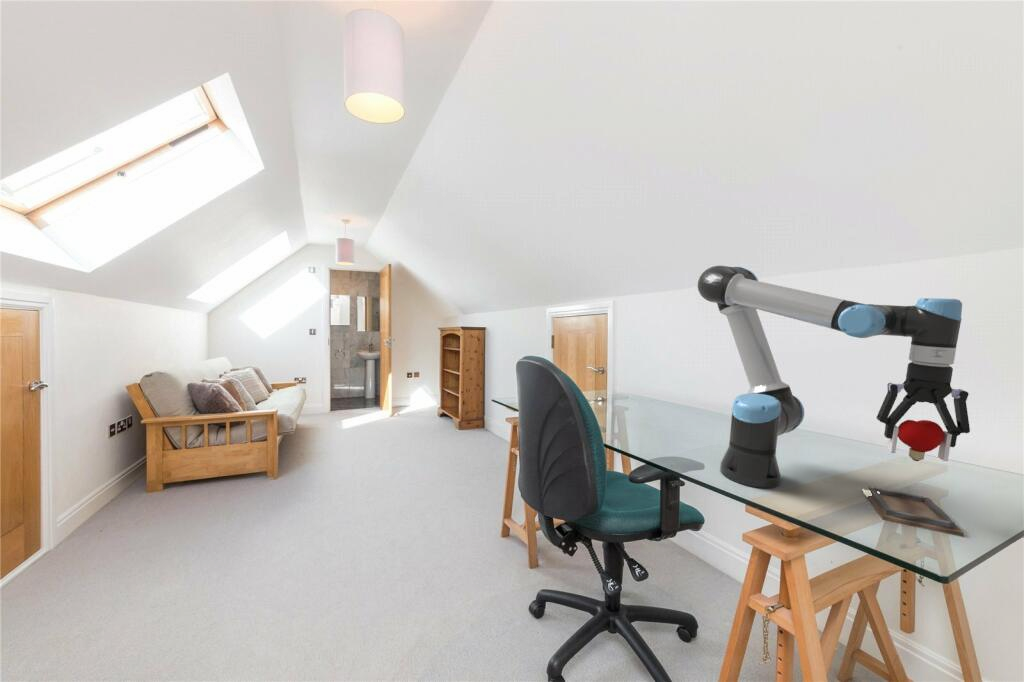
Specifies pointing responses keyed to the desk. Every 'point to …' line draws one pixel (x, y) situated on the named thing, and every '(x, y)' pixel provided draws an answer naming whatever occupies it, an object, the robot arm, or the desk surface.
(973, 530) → the desk surface
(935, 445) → the red heart on stub
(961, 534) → the dark wooden picture frame
